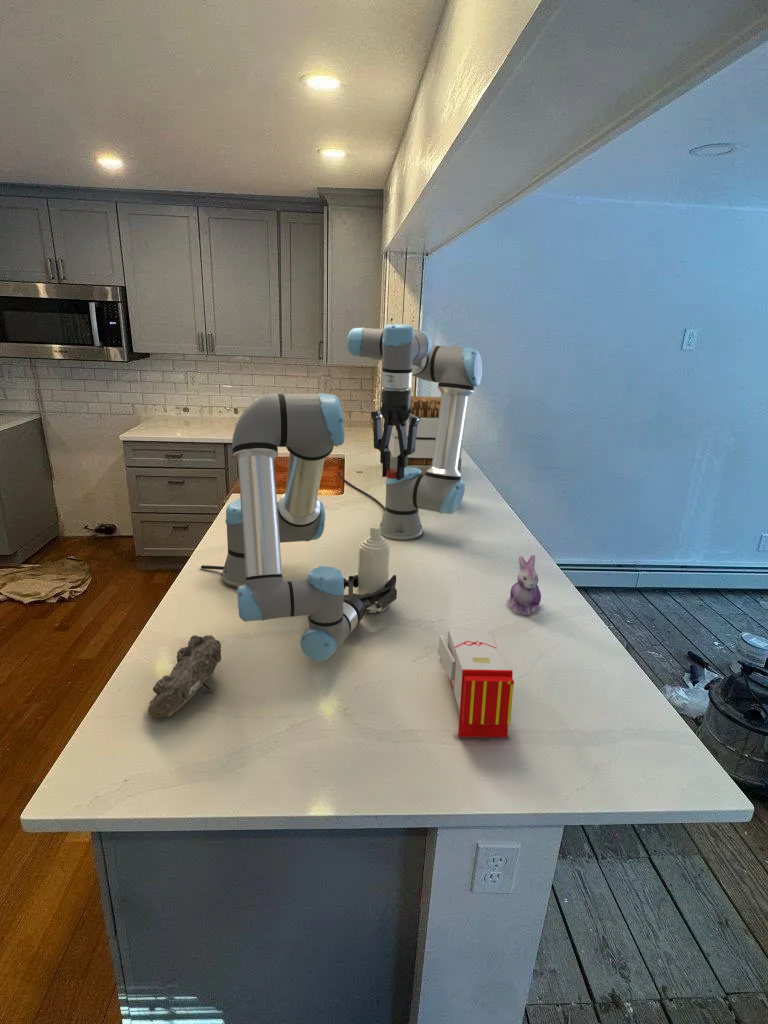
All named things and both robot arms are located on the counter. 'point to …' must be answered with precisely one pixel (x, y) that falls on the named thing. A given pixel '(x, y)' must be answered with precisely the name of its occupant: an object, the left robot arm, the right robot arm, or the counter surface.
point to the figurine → (525, 588)
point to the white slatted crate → (421, 433)
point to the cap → (391, 473)
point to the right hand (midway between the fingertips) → (393, 476)
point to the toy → (478, 682)
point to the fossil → (186, 675)
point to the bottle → (373, 563)
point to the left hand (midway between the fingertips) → (379, 576)
